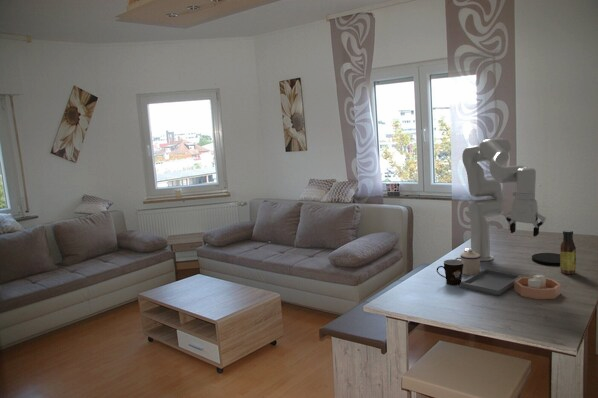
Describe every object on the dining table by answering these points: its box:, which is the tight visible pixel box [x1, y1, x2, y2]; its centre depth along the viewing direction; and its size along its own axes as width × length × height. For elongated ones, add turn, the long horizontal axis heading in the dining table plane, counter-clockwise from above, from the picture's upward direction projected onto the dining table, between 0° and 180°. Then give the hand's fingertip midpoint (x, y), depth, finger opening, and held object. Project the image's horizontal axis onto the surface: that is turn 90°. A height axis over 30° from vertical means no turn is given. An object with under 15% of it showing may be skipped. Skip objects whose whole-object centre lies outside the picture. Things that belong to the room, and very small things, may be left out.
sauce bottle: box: [559, 229, 577, 275], centre depth 208 cm, size 7×6×20 cm
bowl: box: [513, 275, 562, 300], centre depth 189 cm, size 16×16×4 cm
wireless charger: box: [531, 252, 560, 267], centre depth 229 cm, size 18×18×2 cm
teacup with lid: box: [454, 248, 481, 277], centre depth 218 cm, size 12×9×12 cm
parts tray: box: [459, 268, 523, 297], centre depth 201 cm, size 17×24×2 cm
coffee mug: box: [436, 258, 464, 287], centre depth 206 cm, size 12×9×10 cm
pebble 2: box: [533, 274, 547, 289], centre depth 191 cm, size 5×5×5 cm
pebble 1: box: [528, 278, 541, 289], centre depth 187 cm, size 5×5×5 cm
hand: (524, 234), depth 199 cm, fingers open, 9 cm apart
